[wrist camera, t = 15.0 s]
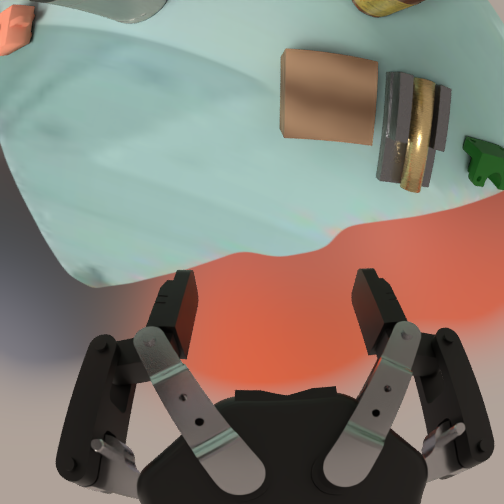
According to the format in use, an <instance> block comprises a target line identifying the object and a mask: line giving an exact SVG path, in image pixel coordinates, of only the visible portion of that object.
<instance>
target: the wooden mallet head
mask: <svg viewBox="0 0 504 504" xmlns="http://www.w3.org/2000/svg"><path fill="white" fill-rule="evenodd" d="M377 80H378V62H377V61H373V60H368V59H363V58H358V57H353V56H347V55H341V54H335V53H328V52H320V51H311V50H300V49H285V51H284V52H283V54H282V56H281V83H280V130H281V132H282V134H283V137H284V138H298V139H314V140H326V141H337V142H347V143H355V144H363V145H371V146H372V142H373V133H374V123H375V112H376V99H377Z"/></svg>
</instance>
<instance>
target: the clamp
mask: <svg viewBox="0 0 504 504" xmlns="http://www.w3.org/2000/svg"><path fill="white" fill-rule="evenodd" d="M463 149H464V151H466V152H467V153H468V154H469V155H470V156H471V157H472V159H471V162H470V165H469V168H468V172H469V175H468V177H469V179H470V181H471V182H472V183H473V184H474V185H475V186H481V187H483V186H484V183H485V181H486V179H487V178H489V179H490V180H491V181H492V182H493V184H494V185H495V186H496V187H497V188H498V189H500V190H504V148H502V147H501V146H499V145H496V144H493V143H489V142H486V141H482V140H479V139H475V138H471V137H466V139H465V142H464V146H463Z"/></svg>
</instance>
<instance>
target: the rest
mask: <svg viewBox="0 0 504 504" xmlns="http://www.w3.org/2000/svg"><path fill="white" fill-rule="evenodd" d="M413 81H414V76H413V75H410V74H406V73H403V72H386V91H385V106H384V117H383V127H382V137H381V145H380V153H379V160H378V167H377V173H376V178H377V179H378V180H379V181H385V182H394V183H401V178H402V172H403V166H404V161H405V154H406V148H407V144H408V137H409V129H410V120H411V110H412V98H413ZM450 103H451V89H450V88H448V87H445V86H442V85H437V84H435V97H434V109H433V119H432V127H431V135H430V142H429V149H428V155H427V160H426V166H425V171H424V176H423V181H422V186H423V187H429V183H430V178H431V173H432V168H433V163H434V157H435V152H436V150H439V151H443V152H444V150H445V144H446V137H447V130H448V122H449V113H450Z"/></svg>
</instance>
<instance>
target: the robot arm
mask: <svg viewBox="0 0 504 504" xmlns="http://www.w3.org/2000/svg"><path fill="white" fill-rule="evenodd" d="M30 1H35V2H42V3H49V4H54V5H59V6H65V7H69V8H73V9H78V10H82V11H85V12H89V13H93V14H96V15H99V16H103V17H106V18H109V19H112V20H115V21H118V22H121V23H125V24H132V23H138V22H141V21H144V20H146V19H148V18H150V17H151V16H153V15H154V14H155V13H157V12H158V11H159V10H160V9H161V8H162V7H163V5H164V4H165V3H166V1H167V0H30ZM352 304H353V307H354V310H355V313H356V316H357V320H358V323H359V326H360V329H361V332H362V335H363V339H364V341H365V345H366V348H367V352H368V355H375V354H376V355H377V358H378V359H377V361H376V363H375V364H374V367H373V369H372V371H371V372H370V375H369V376H368V378H367V380H366V382H365V384H364V386H363V388H362V390H361V391H360V393H359V395H358V396H357V398H356V399H355V398H352V397H350V396H348V395H345V394H341V393H337V391H336V386H333V387H322V388H311V389H308V390H305V391H301V392H298V393H295V394H291V395H281V394H275V393H270V392H265V391H261V390H235V397H230V398H227V399H224V400H222V401H220V402H218V403H216V404H214V405H213V403H212V402H211V401H210V399H209V398H208V397H207V395H206V394H205V392H204V391H203V390H202V388H201V387H200V385H199V384H198V382H197V381H196V379H195V378H194V377H193V375H192V374H191V372H190V371H189V369H188V368H187V367H186V365H185V364H183V363H182V362H181V360H180V359H187V355H188V349H189V345H190V340H191V335H192V331H193V326H194V321H195V316H196V312H197V307H198V292H197V287H196V282H195V276H194V272H193V270H177V272H176V275H175V277H174V280H167V281H166V282H165V283H164V284H163V285H162V287H161V288H160V290H159V293H158V297H157V298H156V301H155V304H154V306H153V309H152V311H151V314H150V317H149V320H148V323H147V325H146V327H145V328H143V329H141V330H139V331H138V332H137V333H136V335H135V337H134V338H132V339H127V340H121V341H116V340H115V339H114V338H113V337H112V336H111V335H107V334H104V335H99V336H97V337H96V338H94V339H93V340H92V342H91V343H90V345H89V347H88V350H87V353H86V356H85V358H84V361H83V364H82V366H81V370H80V372H79V375H78V378H77V381H76V384H75V387H74V390H73V394H72V397H71V400H70V404H69V407H68V411H67V414H66V418H65V422H64V425H63V429H62V434H61V438H60V442H59V447H58V451H57V456H56V468H57V470H58V472H59V474H60V475H61V476H62V477H63V478H64V479H66V480H68V481H70V482H73V483H76V484H77V485H79V486H82V487H85V488H88V489H91V490H94V491H100V492H103V493H107V494H109V493H110V494H111V493H116V494H120V495H123V496H127V497H132V498H136V499H139V500H140V502H141V504H420V503H421V498H422V494H423V491H424V488H425V485H426V483H427V482H430V481H433V480H435V479H438V478H439V479H447V478H449V477H452V476H454V475H457V474H459V473H461V472H463V471H465V470H468V469H470V468H472V467H474V466H476V465H478V464H480V463H482V462H484V461H486V460H487V459H488V458H489V457H490V456H491V455H492V453H493V450H494V438H493V434H492V430H491V426H490V422H489V418H488V415H487V412H486V408H485V405H484V402H483V398H482V395H481V392H480V390H479V386H478V384H477V381H476V378H475V375H474V373H473V370H472V368H471V365H470V362H469V360H468V357H467V355H466V353H465V350H464V348H463V346H462V343H461V341H460V339H459V337H458V335H457V334H456V333H455V332H454V331H453V330H451V329H449V328H441V329H439V330H438V331H437V333H436V335H432V334H427V333H421V332H420V330H419V328H418V327H417V326H416V325H415V324H413V323H411V322H408V321H407V319H406V317H405V315H404V313H403V310H402V308H401V306H400V304H399V302H398V300H397V298H396V296H395V294H394V292H393V290H392V288H391V286H390V284H389V283H388V282H386V281H385V280H384V279H383V278H379V277H378V275H377V273H376V271H375V270H374V269H373V268H370V269H369V268H367V269H359V270H358V272H357V275H356V279H355V283H354V286H353V290H352ZM412 375H413V376H414V378H415V382H416V386H417V389H418V393H419V397H420V401H421V406H422V410H423V414H424V419H425V423H426V428H427V433H428V435H427V436H426V437H425V439H424V441H423V447H422V454H421V453H420V452H419V451H417V450H416V449H415V448H414V447H412V446H411V445H410V444H409V443H408V442H406V441H405V440H404V439H403V438H402V437H400V436H399V435H398V434H397V433H395V432H394V431H393V430H392V429H391V426H392V423H393V421H394V419H395V417H396V414H397V412H398V410H399V408H400V405H401V403H402V400H403V398H404V395H405V393H406V390H407V388H408V385H409V382H410V380H411V377H412ZM148 381H151V382H152V384H153V386H154V388H155V390H156V392H157V393H158V395H159V397H160V399H161V401H162V402H163V404H164V406H165V408H166V409H167V411H168V413H169V415H170V416H171V418H172V420H173V421H174V423H175V424H176V426H177V428H178V429H179V431H180V432H181V434H182V435H181V436H180V437H179V438H177V439H176V440H175V441H174V442H173V443H172V444H171V445H170V446H169V447H168V448H166V449H165V450H164V451H163V452H162V453H161V454H160V455H158V457H156V458H155V459H154V460H153V461H151V462H150V463H149V464H148V465H147V466H146V467H145V468H144V469H143V470H142V471H141V473H140V472H139V471H138V470H137V468H136V465H135V457H134V454H133V452H132V450H131V449H130V448H129V447H128V446H126V445H125V444H126V437H127V431H128V425H129V419H130V414H131V409H132V403H133V398H134V393H135V389H136V384H137V383H142V382H148Z"/></svg>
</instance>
